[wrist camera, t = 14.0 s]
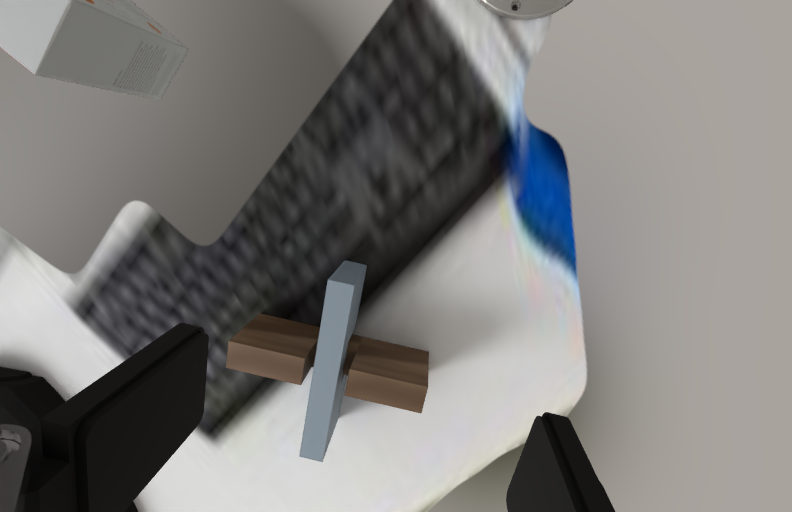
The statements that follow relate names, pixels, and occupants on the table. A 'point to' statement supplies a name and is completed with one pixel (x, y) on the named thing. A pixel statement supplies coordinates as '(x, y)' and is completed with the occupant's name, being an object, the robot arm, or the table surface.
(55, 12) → the small box
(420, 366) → the slotted board
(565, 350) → the table surface
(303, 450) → the plain gray rectangular bar
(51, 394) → the docking station
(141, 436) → the robot arm
